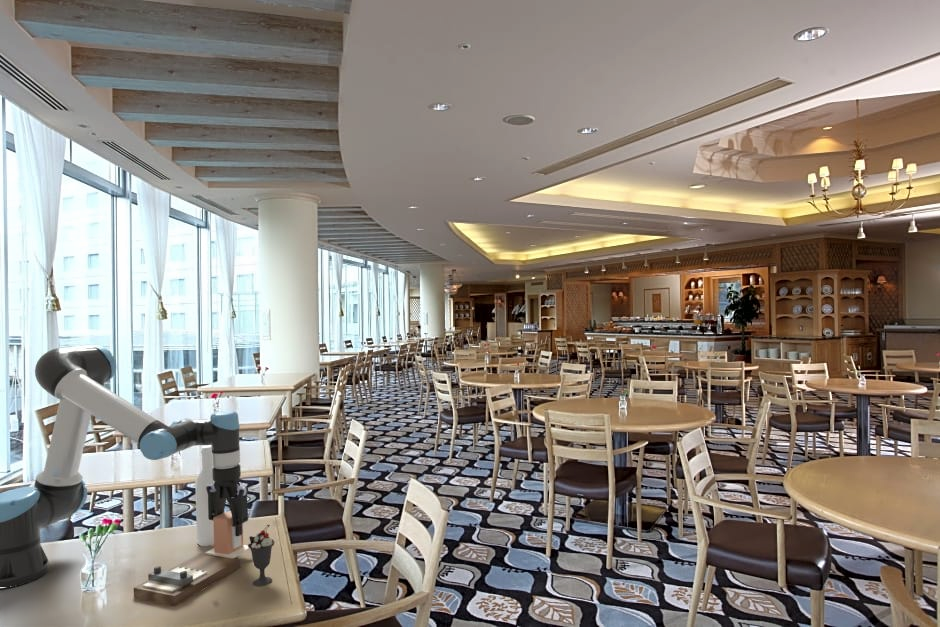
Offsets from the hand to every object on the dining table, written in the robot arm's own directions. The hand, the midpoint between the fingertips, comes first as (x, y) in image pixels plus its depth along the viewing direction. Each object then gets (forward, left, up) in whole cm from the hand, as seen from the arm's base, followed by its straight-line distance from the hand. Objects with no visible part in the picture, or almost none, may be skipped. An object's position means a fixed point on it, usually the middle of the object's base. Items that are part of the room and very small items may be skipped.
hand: (228, 545), depth 167 cm
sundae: (+19, -8, -4) cm, 21 cm away
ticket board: (0, -14, -4) cm, 15 cm away
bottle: (-16, +9, -4) cm, 19 cm away
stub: (0, 0, -2) cm, 2 cm away
